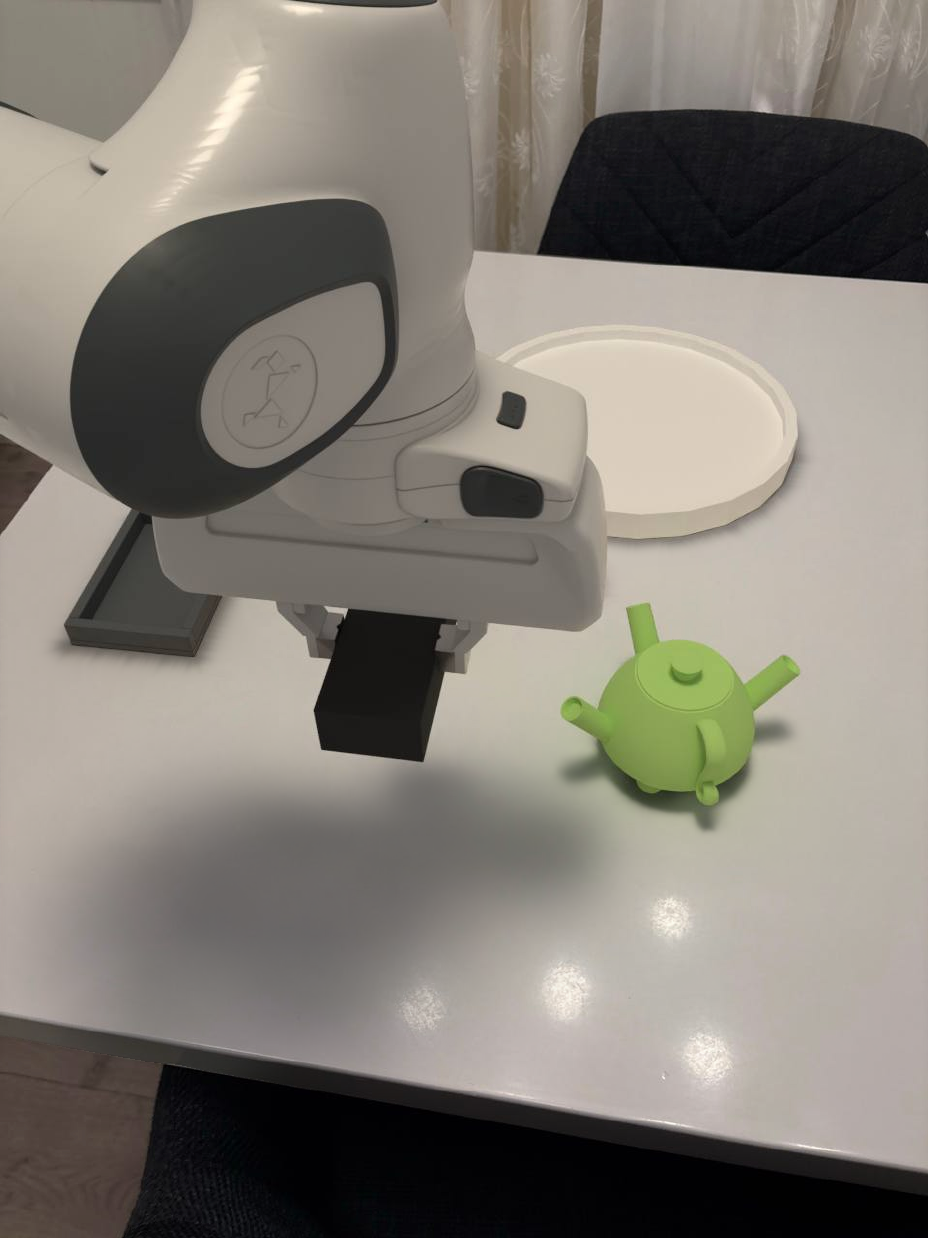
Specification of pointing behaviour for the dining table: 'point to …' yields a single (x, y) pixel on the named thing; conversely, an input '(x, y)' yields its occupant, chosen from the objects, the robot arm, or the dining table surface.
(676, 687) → the teapot
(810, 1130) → the dining table surface
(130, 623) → the base tray
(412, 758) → the black rectangular block
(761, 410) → the plate
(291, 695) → the dining table surface
